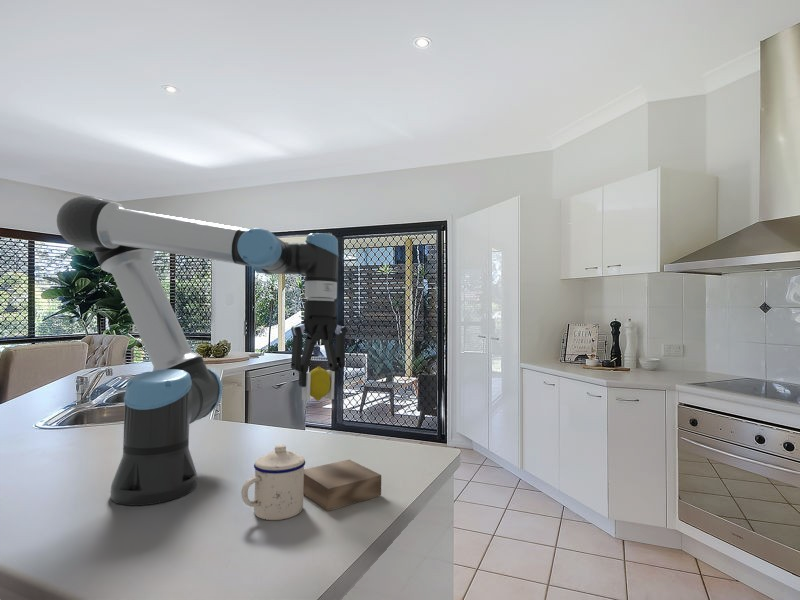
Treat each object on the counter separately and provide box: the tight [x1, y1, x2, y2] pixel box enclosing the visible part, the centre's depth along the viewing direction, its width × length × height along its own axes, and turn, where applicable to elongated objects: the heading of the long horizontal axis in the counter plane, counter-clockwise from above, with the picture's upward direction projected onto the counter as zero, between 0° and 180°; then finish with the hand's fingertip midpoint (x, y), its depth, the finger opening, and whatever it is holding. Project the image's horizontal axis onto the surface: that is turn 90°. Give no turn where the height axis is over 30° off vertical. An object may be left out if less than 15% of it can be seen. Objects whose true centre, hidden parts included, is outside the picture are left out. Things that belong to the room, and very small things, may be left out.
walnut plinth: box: [303, 459, 382, 512], centre depth 90 cm, size 12×12×4 cm
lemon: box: [309, 366, 330, 402], centre depth 104 cm, size 6×6×8 cm
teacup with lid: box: [240, 444, 306, 521], centre depth 80 cm, size 12×9×12 cm
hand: (317, 399), depth 104 cm, fingers closed on lemon, 5 cm apart
